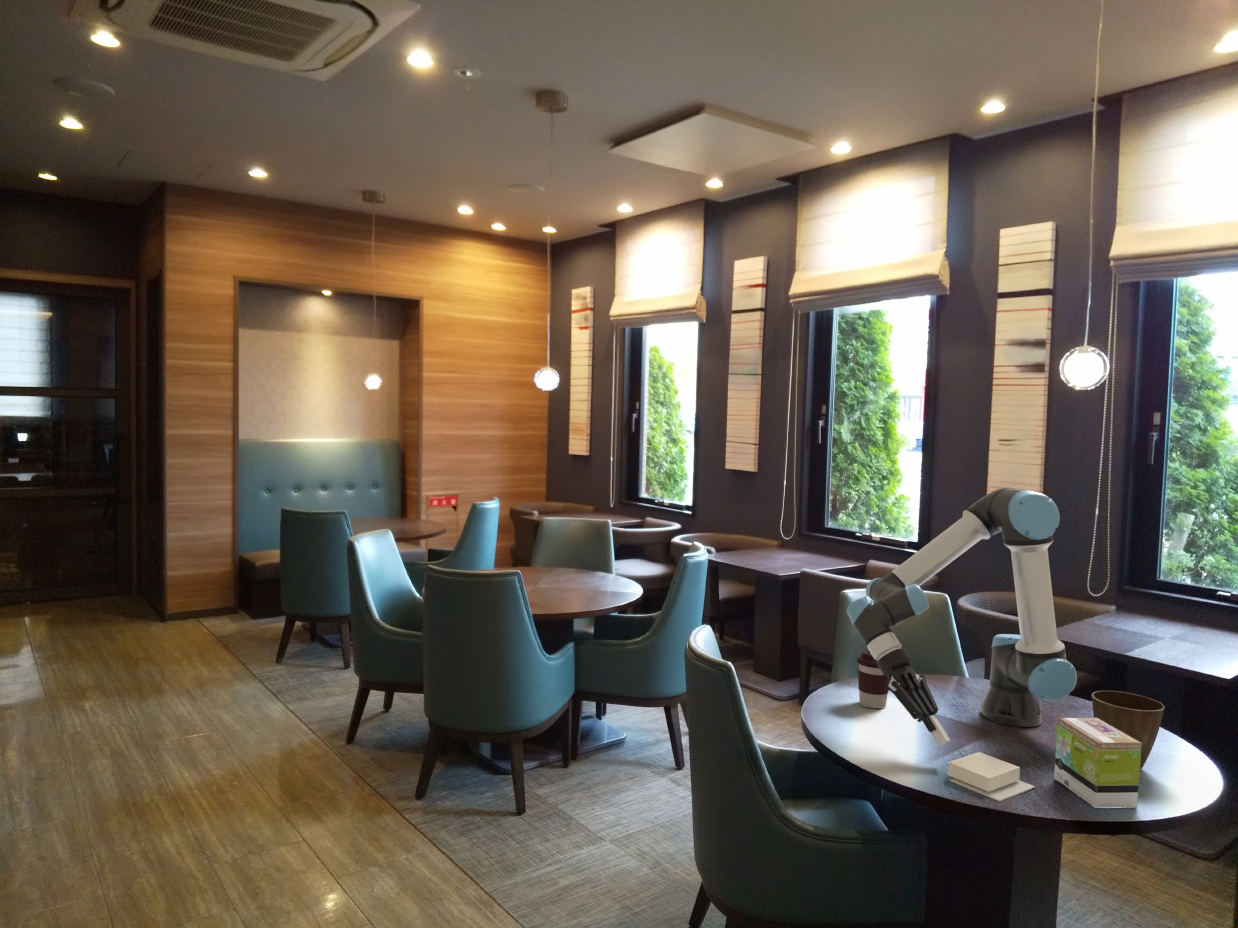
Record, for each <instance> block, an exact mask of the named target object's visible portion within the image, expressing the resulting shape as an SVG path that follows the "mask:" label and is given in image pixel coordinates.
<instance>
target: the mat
mask: <svg viewBox="0 0 1238 928" xmlns="http://www.w3.org/2000/svg"><path fill="white" fill-rule="evenodd" d="M949 782H951V783H953V784H956V785H958V786H961V787H963V788H965V789H968V790H970V791H973V792H975V793H978V794H980V795H983V796H985V797H986V798H990V799H992V800H994V801H997V802H999V803H1000V802H1002V801H1006V800H1008V799H1010V798H1013V797H1015V796H1018V795H1021V794H1023V793H1025V791H1026V792H1028V790H1029V791H1031V790H1033V789H1032V788H1034V789H1036V786H1035V785H1033V784H1029V783H1027V782H1025V781H1021V780H1020V779H1019V781H1016V782H1014V783H1011V784H1008V785H1006V786H1003V787H1000V788H998V789H995V790H992V791H990V792H988V791H985V790H982V789H980V788H977V787H975V786H973V785H970V784H968V783H965V782H963V781H961V780H958V779H956V778H953V777H952V778H950V779H949ZM1030 789H1031V790H1030ZM1020 793H1021V794H1020Z"/></svg>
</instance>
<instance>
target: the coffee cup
mask: <svg viewBox="0 0 1238 928" xmlns="http://www.w3.org/2000/svg"><path fill="white" fill-rule="evenodd" d="M877 662H878V661H875V659H874V658H873V656H872V654H871V653H870V651H869V649H866V650H864V651H863V652H862V653H861V654H858V655H857V656H856V663H857V664H858V668H857V669H858V670H857V676H858V677H857V678H858V679H857V682H858V683H857V684H858V685H857V686H858V687H857V688H858V690H859V704H860V705H861V706H862V707H865V708H868V709H874V710H877V709H878V710H879V709H884V708H886V706H887V701H888V694H889V692H890V691H889V690H888V689H887V685H889V684H890V680H889V677H888V676H885V675H884V674H883V673H882V671H881V670H880V668H879V666H878V665H877Z"/></svg>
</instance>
